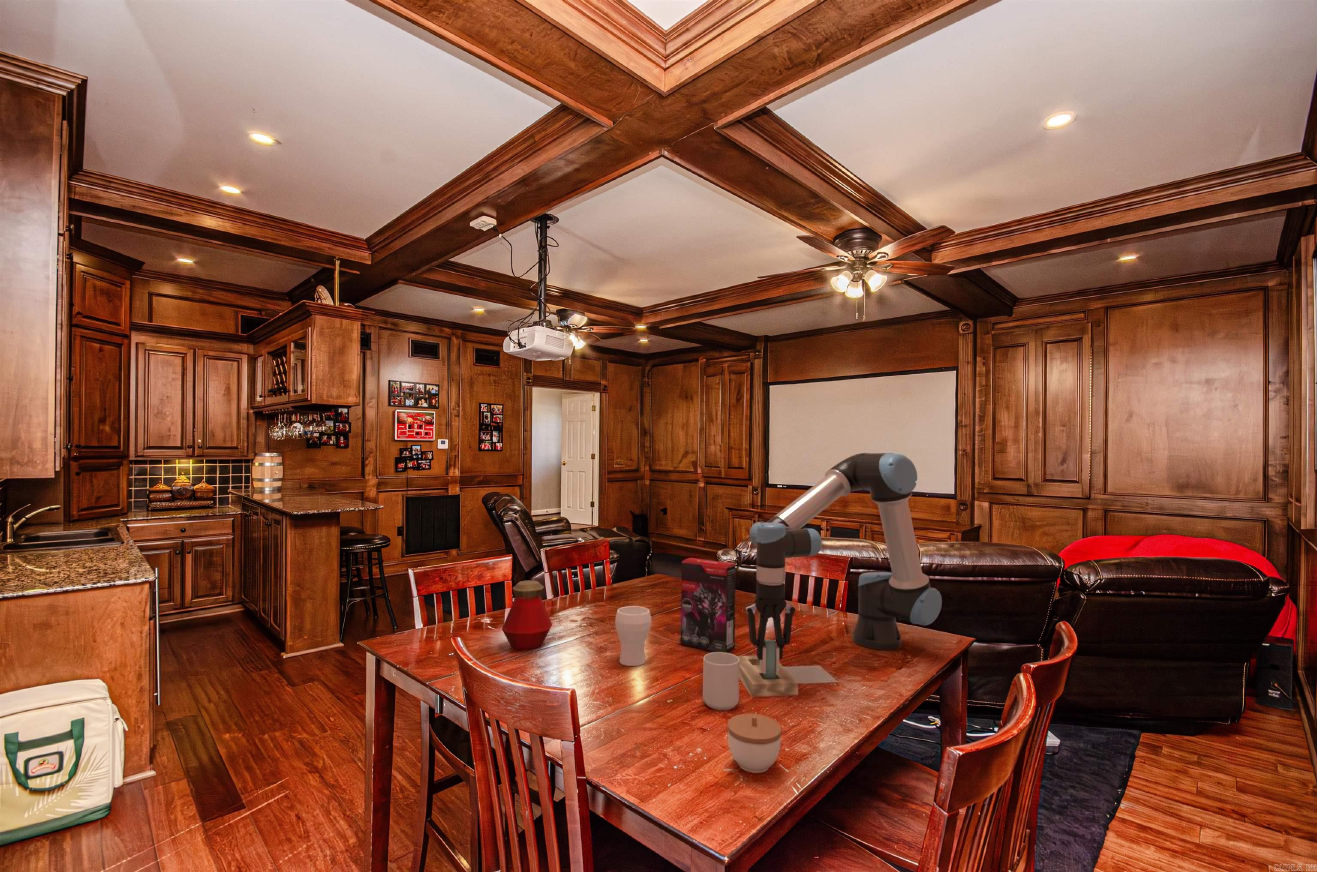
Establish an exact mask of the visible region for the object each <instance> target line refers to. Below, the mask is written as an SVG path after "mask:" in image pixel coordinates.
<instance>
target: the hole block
mask: <svg viewBox="0 0 1317 872" xmlns="http://www.w3.org/2000/svg"><path fill="white" fill-rule="evenodd" d="M736 656H737V657H738V658H739V681H740V682H741V683H742V686H743V687H745V689H746V691H747V692H748V693H749V695H750V697H751V698H752V699H754V698H755V697H758V698H759V697H760V698H761V697H781V696H799V684H798V682H797V681H796V680H795V679H794V678H793V677H792V675H791V674H790V673H789V672H788V671H787V670H786V669H785V668H784V667H785V666H783V664H782V663H781V662H780V661H779V673H776V677H775V679H767V680H764V679H763V673H762V672H761V670H760V660H759V659H758V658H757V654H756V655H736Z"/></svg>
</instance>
